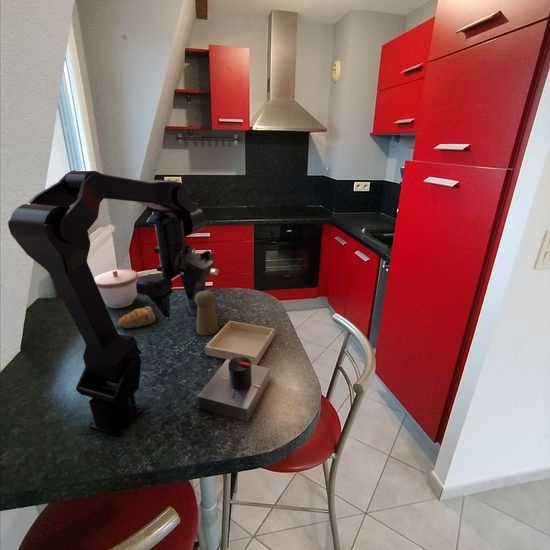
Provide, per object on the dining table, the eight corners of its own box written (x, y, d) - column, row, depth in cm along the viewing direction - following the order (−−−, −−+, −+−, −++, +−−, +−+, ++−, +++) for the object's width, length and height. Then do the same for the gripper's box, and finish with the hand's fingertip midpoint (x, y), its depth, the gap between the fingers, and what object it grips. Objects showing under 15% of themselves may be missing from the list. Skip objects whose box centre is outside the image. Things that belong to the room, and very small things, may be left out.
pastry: (122, 333, 86) (120, 320, 84) (116, 323, 90) (113, 311, 89) (157, 322, 91) (155, 310, 90) (149, 313, 96) (147, 301, 95)
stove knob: (225, 387, 62) (224, 366, 60) (235, 373, 66) (234, 353, 64) (246, 392, 61) (245, 371, 59) (255, 377, 65) (254, 357, 63)
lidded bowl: (149, 296, 107) (145, 265, 103) (126, 314, 95) (119, 280, 91) (116, 293, 109) (110, 262, 105) (89, 310, 98) (81, 276, 94)
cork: (222, 325, 90) (219, 289, 86) (213, 336, 84) (210, 298, 80) (202, 322, 91) (198, 287, 87) (192, 333, 85) (188, 296, 81)
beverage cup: (198, 303, 102) (192, 242, 94) (214, 310, 98) (210, 247, 90) (179, 312, 96) (172, 248, 89) (196, 319, 92) (189, 253, 85)
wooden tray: (256, 365, 73) (256, 357, 72) (205, 354, 77) (205, 346, 76) (274, 336, 84) (274, 328, 84) (229, 327, 88) (229, 320, 87)
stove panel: (249, 422, 58) (248, 409, 57) (199, 408, 61) (197, 395, 60) (271, 380, 69) (271, 368, 67) (227, 370, 72) (226, 358, 70)
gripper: (178, 259, 57) (187, 334, 63) (226, 234, 74) (229, 295, 79) (127, 253, 61) (140, 325, 66) (184, 230, 77) (190, 289, 83)
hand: (179, 307), depth 74 cm, fingers open, 9 cm apart
